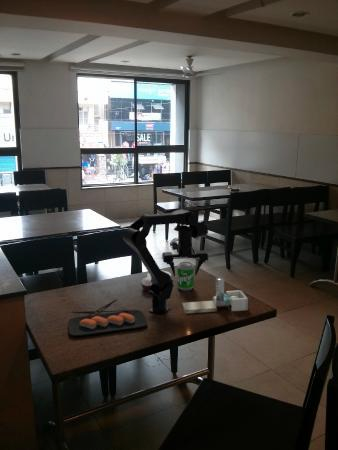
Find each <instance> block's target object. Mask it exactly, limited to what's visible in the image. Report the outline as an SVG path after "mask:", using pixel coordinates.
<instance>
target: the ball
mask: <svg viewBox="0 0 338 450" xmlns="http://www.w3.org/2000/svg"><path fill="white" fill-rule="evenodd" d="M237 298H238V297H237V296H231V297H230V298H229V299H230V306H231V307H232V299H237Z"/></svg>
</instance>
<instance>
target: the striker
mask: <svg viewBox="0 0 338 450" xmlns="http://www.w3.org/2000/svg"><path fill="white" fill-rule="evenodd" d="M212 301H213V302H214V304H215V306H216V307H222V306H227V307H228V306H229V307H230V306H231V305H230V299H229V298H228V296H227V295H226V293H225V278H223V277H216V278H215V295H214V296H212Z"/></svg>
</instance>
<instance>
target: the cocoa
mask: <svg viewBox="0 0 338 450" xmlns="http://www.w3.org/2000/svg"><path fill="white" fill-rule="evenodd" d="M140 284H141V288H142V290H143V291H144V292H146V293H148V289H149V288H150V286H151V285H152V282H151V278H149V277H147V276H146V277H144V278H143V279H142V280H141V282H140Z"/></svg>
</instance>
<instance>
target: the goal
mask: <svg viewBox="0 0 338 450" xmlns="http://www.w3.org/2000/svg"><path fill="white" fill-rule="evenodd" d="M225 294H226V295H227V296H228V298H230V297H231V296H237V297H238V298H237V299H232V306H231V308H230V309H231V312H240V311H248V308H249V306H248V305H249V298H248V297H247V296H246V294H245V293H244V292H243V291H242V290H239V289H237V290H227V291H225Z"/></svg>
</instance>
